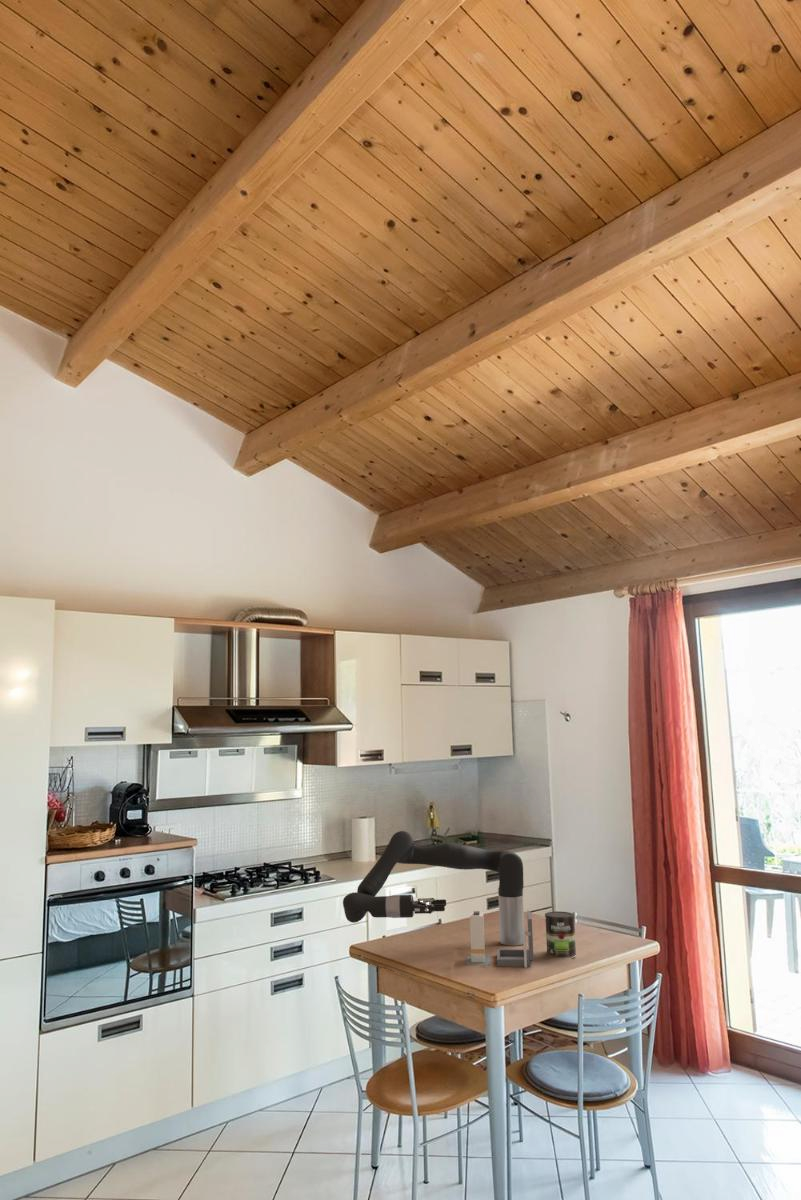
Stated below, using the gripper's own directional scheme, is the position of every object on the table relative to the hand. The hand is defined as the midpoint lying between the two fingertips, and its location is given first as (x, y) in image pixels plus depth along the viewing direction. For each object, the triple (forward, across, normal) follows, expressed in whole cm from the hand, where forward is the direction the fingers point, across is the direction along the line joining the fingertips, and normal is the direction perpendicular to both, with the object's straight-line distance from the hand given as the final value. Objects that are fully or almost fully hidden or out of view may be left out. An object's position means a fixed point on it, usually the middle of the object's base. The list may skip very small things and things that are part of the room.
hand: (445, 905), depth 287 cm
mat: (+10, -2, +19) cm, 22 cm away
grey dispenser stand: (+22, -2, +19) cm, 30 cm away
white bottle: (+10, -2, +18) cm, 21 cm away
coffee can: (+40, +9, +20) cm, 45 cm away
